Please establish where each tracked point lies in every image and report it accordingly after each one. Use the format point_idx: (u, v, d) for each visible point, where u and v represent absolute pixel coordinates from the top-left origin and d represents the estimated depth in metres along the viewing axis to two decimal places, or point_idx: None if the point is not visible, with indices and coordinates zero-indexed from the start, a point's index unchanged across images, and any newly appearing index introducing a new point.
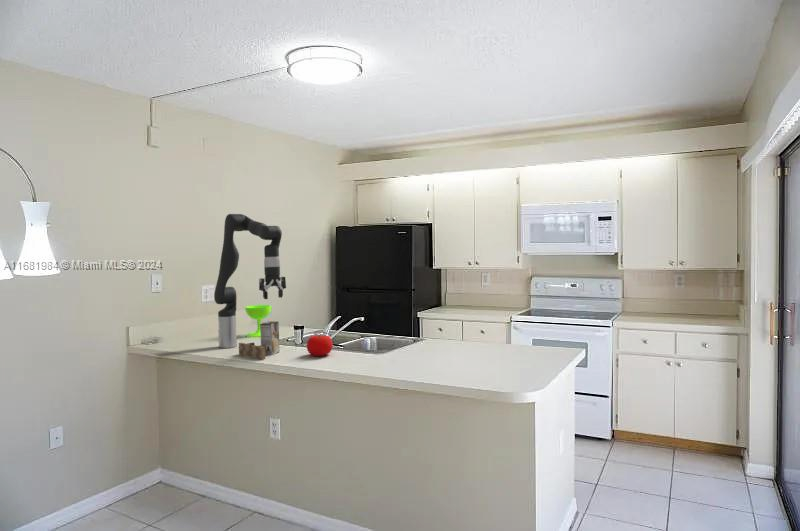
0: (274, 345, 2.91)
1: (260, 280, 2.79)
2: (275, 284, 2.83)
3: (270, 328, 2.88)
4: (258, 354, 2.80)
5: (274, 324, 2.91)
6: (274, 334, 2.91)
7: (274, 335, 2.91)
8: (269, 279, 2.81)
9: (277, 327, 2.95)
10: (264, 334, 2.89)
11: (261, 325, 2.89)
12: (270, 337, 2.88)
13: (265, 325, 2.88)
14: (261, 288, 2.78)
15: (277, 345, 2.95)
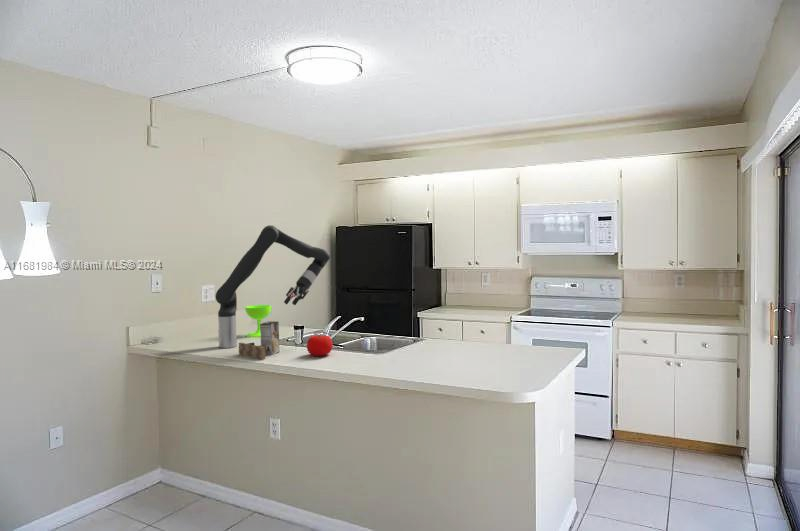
0: (274, 345, 2.91)
1: (306, 290, 3.01)
2: None
3: (270, 328, 2.88)
4: (258, 354, 2.80)
5: (274, 324, 2.91)
6: (274, 334, 2.91)
7: (274, 335, 2.91)
8: None
9: (277, 327, 2.95)
10: (264, 334, 2.89)
11: (261, 325, 2.89)
12: (270, 337, 2.88)
13: (265, 325, 2.88)
14: (303, 297, 3.00)
15: (277, 345, 2.95)
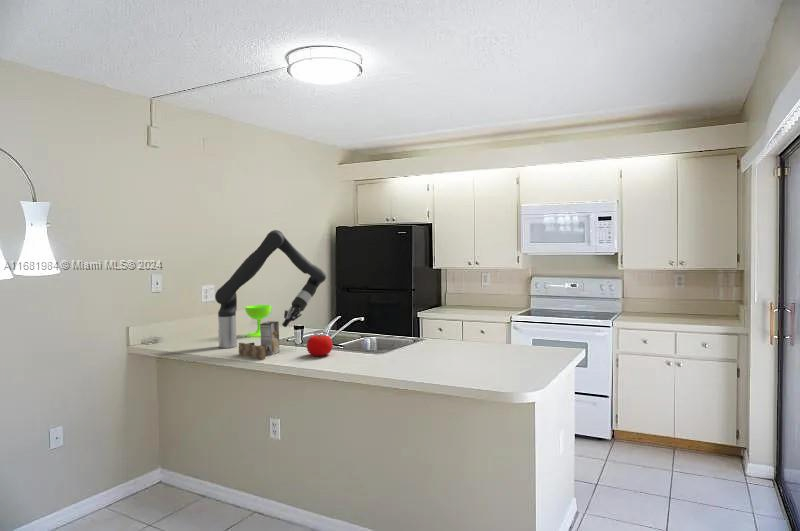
0: (274, 345, 2.91)
1: (298, 314, 2.99)
2: None
3: (270, 328, 2.88)
4: (258, 354, 2.80)
5: (274, 324, 2.91)
6: (274, 334, 2.91)
7: (274, 335, 2.91)
8: None
9: (277, 327, 2.95)
10: (264, 334, 2.89)
11: (261, 325, 2.89)
12: (270, 337, 2.88)
13: (265, 325, 2.88)
14: (293, 319, 3.00)
15: (277, 345, 2.95)
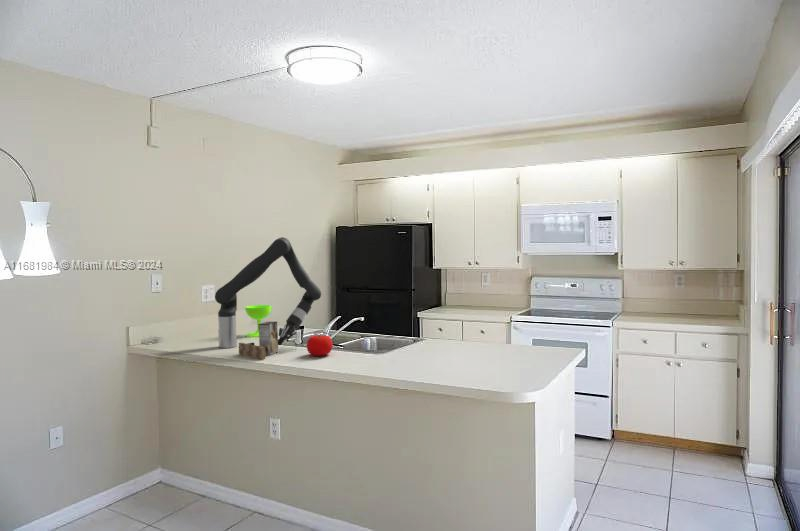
0: (272, 345, 2.90)
1: (293, 332, 2.97)
2: None
3: (268, 328, 2.87)
4: (258, 354, 2.80)
5: (272, 324, 2.91)
6: (272, 334, 2.90)
7: (273, 335, 2.91)
8: None
9: (276, 327, 2.94)
10: (262, 334, 2.88)
11: (259, 325, 2.88)
12: (269, 337, 2.88)
13: (263, 325, 2.88)
14: (288, 338, 2.98)
15: (276, 345, 2.94)
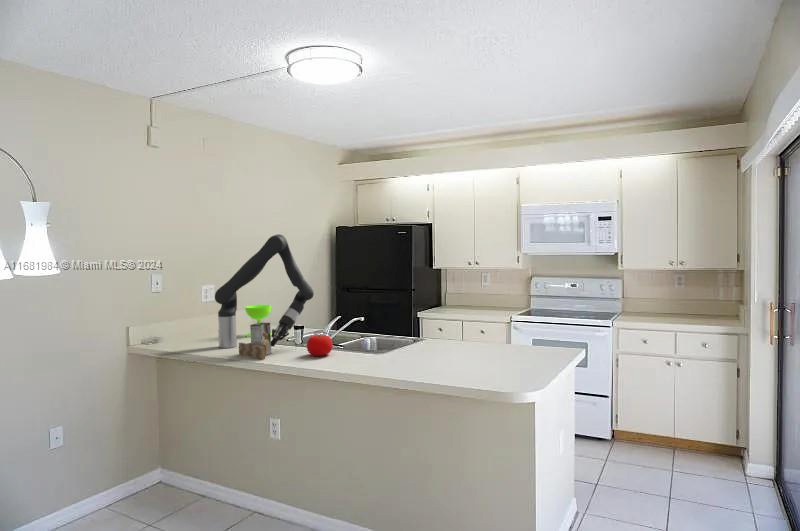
0: None
1: (286, 333, 2.94)
2: None
3: (260, 329, 2.84)
4: (258, 354, 2.80)
5: (264, 325, 2.88)
6: (264, 335, 2.87)
7: (264, 337, 2.87)
8: None
9: (268, 328, 2.91)
10: (254, 335, 2.85)
11: (251, 326, 2.86)
12: (260, 339, 2.85)
13: (255, 326, 2.85)
14: (281, 339, 2.94)
15: (268, 346, 2.91)
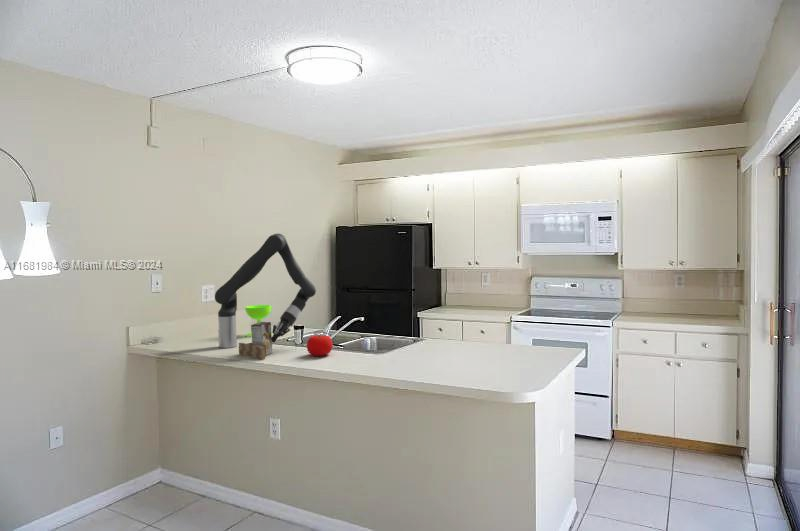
0: None
1: (287, 329, 2.94)
2: None
3: (260, 329, 2.84)
4: (258, 354, 2.80)
5: (265, 325, 2.87)
6: (265, 335, 2.87)
7: (265, 336, 2.87)
8: None
9: (269, 328, 2.91)
10: (255, 335, 2.86)
11: (252, 326, 2.86)
12: (261, 339, 2.85)
13: (256, 326, 2.85)
14: (282, 335, 2.95)
15: (269, 346, 2.91)
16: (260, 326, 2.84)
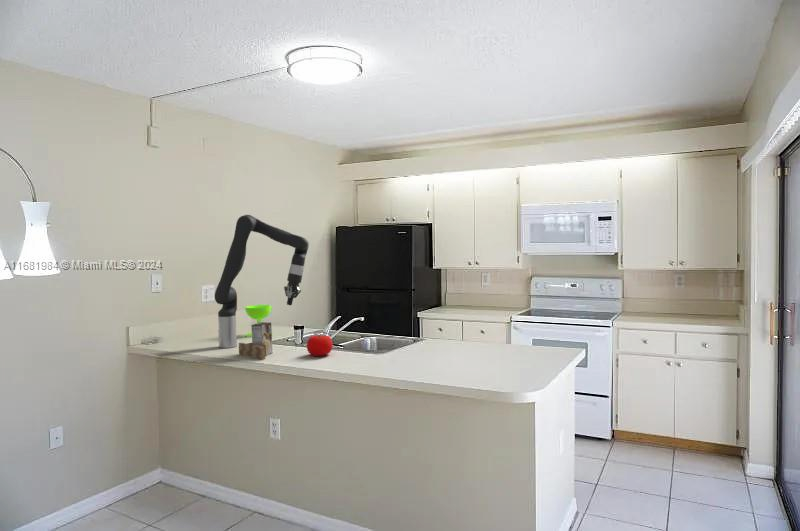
0: None
1: (298, 291, 3.04)
2: None
3: (261, 329, 2.85)
4: (258, 354, 2.80)
5: (266, 325, 2.88)
6: (265, 335, 2.87)
7: (266, 337, 2.88)
8: None
9: (269, 328, 2.91)
10: (255, 335, 2.86)
11: (252, 326, 2.86)
12: (261, 339, 2.85)
13: (256, 326, 2.86)
14: (295, 297, 3.06)
15: (270, 346, 2.91)
16: (260, 326, 2.85)
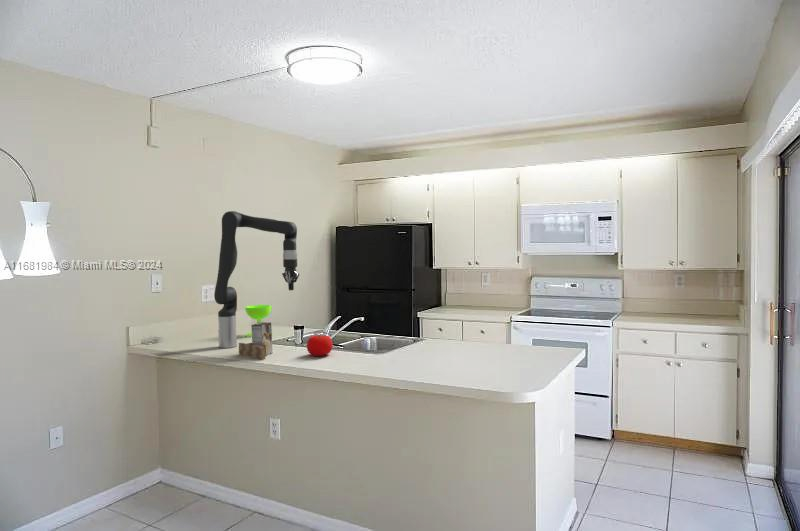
0: None
1: (296, 275, 3.05)
2: None
3: (261, 329, 2.85)
4: (258, 354, 2.80)
5: (266, 325, 2.88)
6: (265, 335, 2.87)
7: (266, 337, 2.88)
8: None
9: (269, 328, 2.91)
10: (255, 335, 2.86)
11: (252, 326, 2.86)
12: (261, 339, 2.85)
13: (256, 326, 2.86)
14: (295, 281, 3.08)
15: (270, 346, 2.91)
16: (260, 326, 2.85)
